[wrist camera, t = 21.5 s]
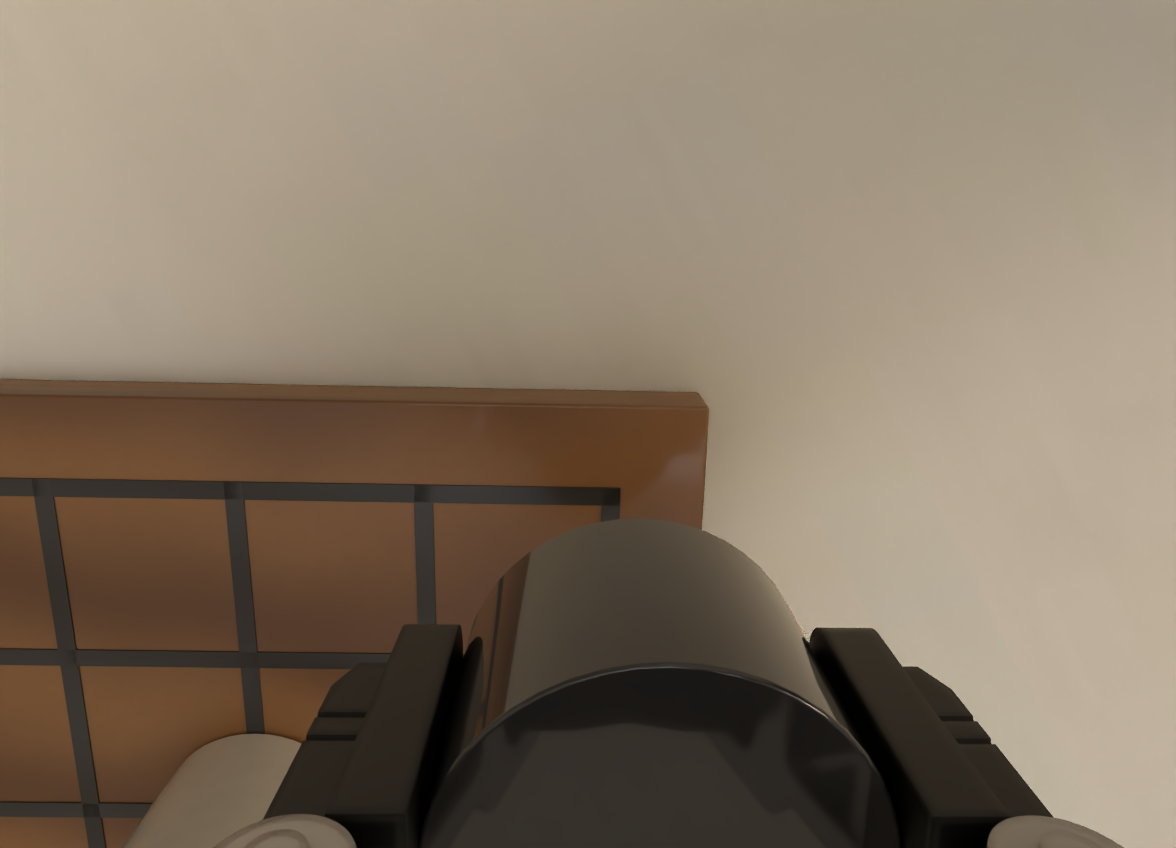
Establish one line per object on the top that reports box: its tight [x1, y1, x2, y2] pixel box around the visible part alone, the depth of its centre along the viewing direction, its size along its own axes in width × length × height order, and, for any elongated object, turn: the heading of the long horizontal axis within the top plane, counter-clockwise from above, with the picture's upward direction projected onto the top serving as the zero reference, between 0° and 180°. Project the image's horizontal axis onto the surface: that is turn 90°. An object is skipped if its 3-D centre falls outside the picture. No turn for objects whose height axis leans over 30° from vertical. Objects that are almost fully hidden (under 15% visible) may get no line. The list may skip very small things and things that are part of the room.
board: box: [0, 379, 709, 848], centre depth 20 cm, size 20×20×2 cm
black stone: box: [418, 518, 901, 848], centre depth 9 cm, size 5×5×4 cm
